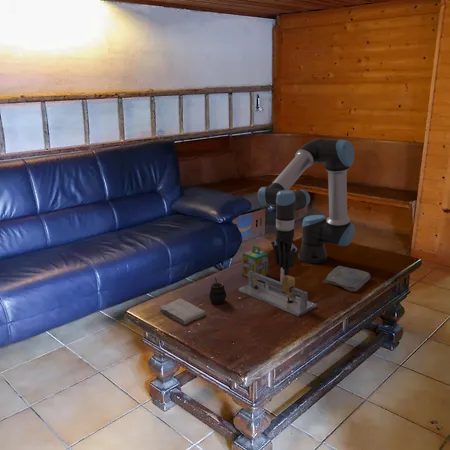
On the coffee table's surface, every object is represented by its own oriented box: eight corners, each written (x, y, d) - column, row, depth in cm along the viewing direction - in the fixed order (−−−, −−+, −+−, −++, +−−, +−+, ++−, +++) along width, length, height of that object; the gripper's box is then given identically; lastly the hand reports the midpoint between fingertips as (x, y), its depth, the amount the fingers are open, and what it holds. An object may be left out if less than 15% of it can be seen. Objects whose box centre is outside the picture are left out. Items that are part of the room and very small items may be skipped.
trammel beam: (257, 283, 221) (257, 267, 219) (316, 306, 197) (317, 289, 195) (238, 290, 213) (238, 274, 211) (298, 316, 189) (298, 298, 187)
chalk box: (241, 275, 230) (241, 247, 226) (254, 270, 236) (254, 242, 232) (255, 280, 224) (256, 251, 219) (268, 275, 230) (268, 246, 226)
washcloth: (179, 302, 204) (179, 295, 204) (207, 316, 192) (207, 309, 191) (157, 311, 197) (157, 304, 196) (184, 326, 184) (184, 319, 183)
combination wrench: (263, 281, 214) (298, 294, 200) (265, 280, 215) (300, 293, 201) (263, 289, 215) (298, 302, 201) (265, 288, 216) (299, 301, 202)
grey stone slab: (319, 286, 219) (354, 293, 209) (319, 277, 218) (354, 284, 208) (338, 274, 235) (371, 280, 224) (338, 265, 233) (372, 271, 223)
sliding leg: (287, 297, 203) (288, 275, 200) (294, 299, 200) (295, 277, 197) (281, 300, 200) (282, 278, 197) (288, 302, 198) (288, 280, 195)
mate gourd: (213, 306, 199) (212, 285, 196) (206, 299, 206) (205, 278, 203) (228, 303, 202) (228, 281, 199) (221, 296, 208) (221, 275, 205)
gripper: (267, 227, 195) (266, 279, 202) (291, 234, 186) (290, 288, 193) (278, 223, 200) (277, 274, 207) (303, 229, 190) (301, 283, 197)
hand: (283, 281), depth 200 cm, fingers closed
